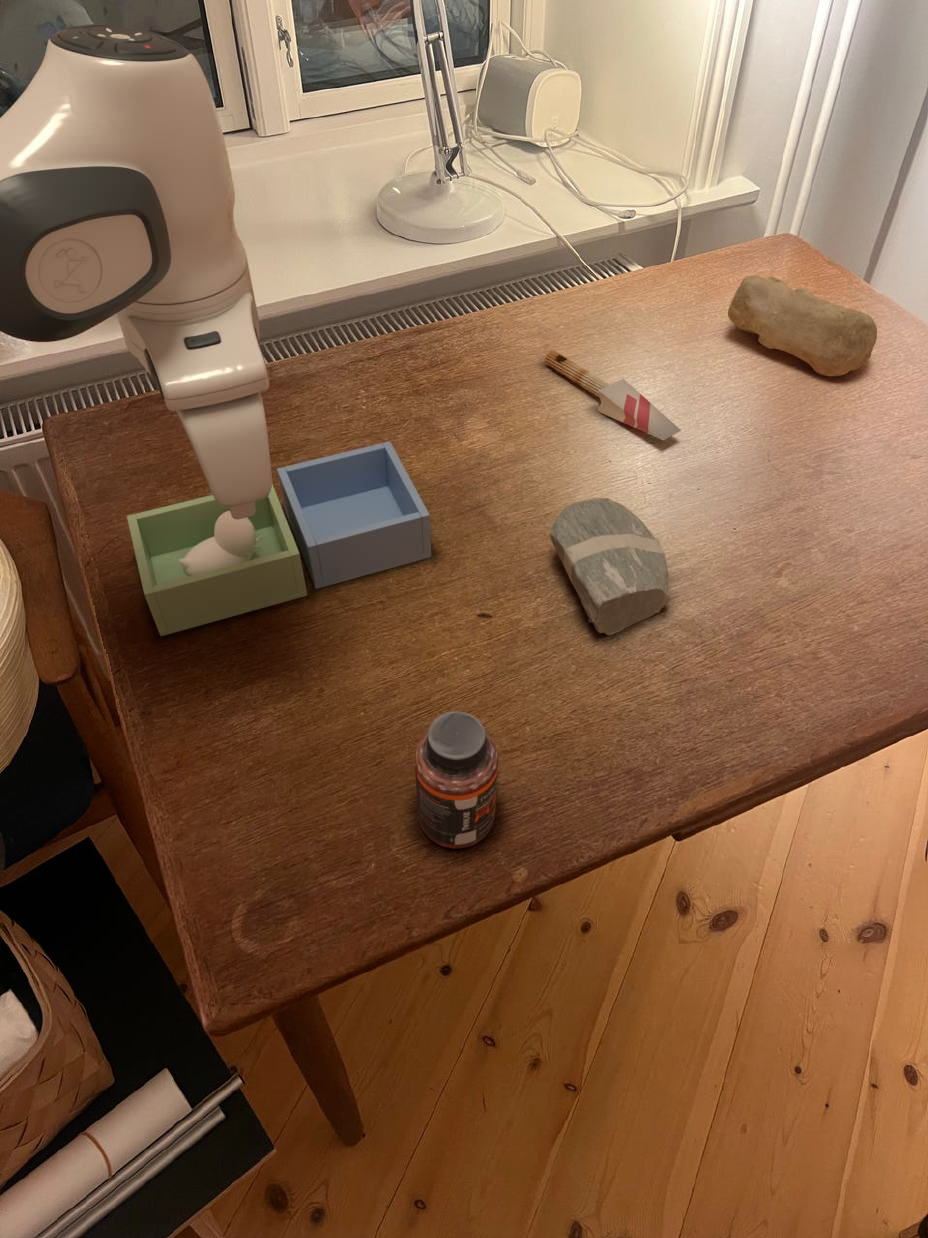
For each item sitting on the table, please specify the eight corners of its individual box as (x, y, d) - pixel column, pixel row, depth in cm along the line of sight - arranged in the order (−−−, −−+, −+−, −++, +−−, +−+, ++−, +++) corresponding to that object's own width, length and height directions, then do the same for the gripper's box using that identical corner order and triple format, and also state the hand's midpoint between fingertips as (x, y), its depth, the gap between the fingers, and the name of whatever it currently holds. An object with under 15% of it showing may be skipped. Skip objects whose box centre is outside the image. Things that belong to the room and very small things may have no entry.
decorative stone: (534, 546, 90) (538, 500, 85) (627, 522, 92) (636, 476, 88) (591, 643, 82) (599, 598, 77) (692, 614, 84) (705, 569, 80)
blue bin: (315, 589, 86) (307, 547, 82) (285, 511, 93) (276, 468, 89) (431, 557, 89) (429, 514, 85) (393, 483, 96) (390, 440, 92)
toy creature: (275, 568, 87) (265, 520, 82) (196, 603, 84) (180, 554, 80) (255, 540, 90) (243, 491, 85) (177, 572, 87) (161, 524, 82)
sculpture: (763, 283, 116) (748, 246, 108) (893, 330, 109) (889, 294, 100) (727, 345, 118) (710, 314, 109) (854, 396, 110) (846, 367, 101)
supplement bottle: (487, 859, 69) (491, 780, 60) (410, 844, 69) (402, 764, 61) (501, 789, 72) (506, 706, 64) (428, 776, 73) (423, 692, 65)
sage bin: (160, 636, 83) (144, 594, 78) (142, 558, 89) (126, 515, 85) (307, 595, 86) (299, 553, 82) (279, 522, 92) (271, 480, 88)
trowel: (661, 430, 97) (539, 352, 108) (657, 452, 99) (538, 372, 110) (686, 417, 98) (564, 340, 109) (683, 438, 100) (563, 361, 111)
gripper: (114, 246, 66) (162, 406, 76) (167, 406, 53) (216, 571, 64) (202, 230, 67) (237, 389, 78) (274, 382, 55) (304, 547, 65)
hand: (228, 473), depth 71 cm, fingers open, 8 cm apart
